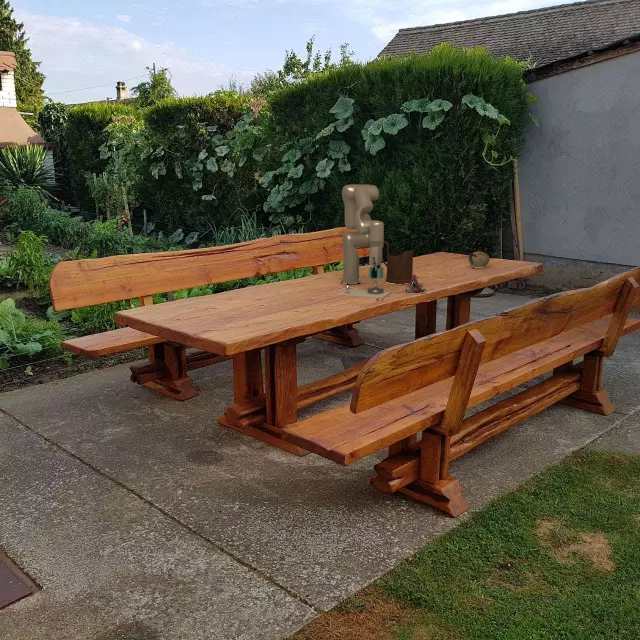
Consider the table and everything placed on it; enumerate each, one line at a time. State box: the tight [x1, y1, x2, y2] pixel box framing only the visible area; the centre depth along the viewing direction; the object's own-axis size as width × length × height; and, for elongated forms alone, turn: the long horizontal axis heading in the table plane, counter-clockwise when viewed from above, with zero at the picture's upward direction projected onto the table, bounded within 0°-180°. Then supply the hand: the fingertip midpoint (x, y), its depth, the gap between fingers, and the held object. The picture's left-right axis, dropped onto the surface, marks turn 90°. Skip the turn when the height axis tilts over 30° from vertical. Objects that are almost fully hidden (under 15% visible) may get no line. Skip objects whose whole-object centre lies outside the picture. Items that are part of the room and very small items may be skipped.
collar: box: [368, 266, 384, 280], centre depth 373 cm, size 6×6×6 cm
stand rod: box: [345, 284, 350, 294], centre depth 374 cm, size 2×2×4 cm
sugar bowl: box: [467, 246, 491, 268], centre depth 478 cm, size 20×15×15 cm
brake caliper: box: [405, 273, 427, 294], centre depth 383 cm, size 11×11×12 cm
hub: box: [366, 280, 385, 294], centre depth 375 cm, size 9×9×6 cm
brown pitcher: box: [382, 240, 414, 284], centre depth 417 cm, size 18×24×25 cm
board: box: [335, 288, 393, 300], centre depth 375 cm, size 19×27×2 cm
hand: (376, 276), depth 373 cm, fingers closed on collar, 6 cm apart
